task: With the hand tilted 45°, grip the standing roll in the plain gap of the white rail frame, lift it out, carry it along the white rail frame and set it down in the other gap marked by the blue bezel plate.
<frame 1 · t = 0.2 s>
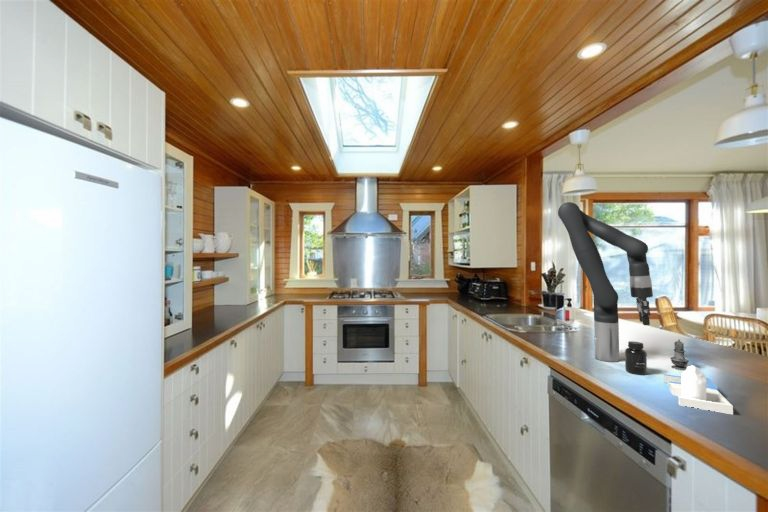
hand: (644, 323, 141), 18 cm above the counter, tool pointing down, fingers open, 8 cm apart
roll: (694, 403, 103), on the counter
white rail frame: (692, 395, 108), on the counter
supplement bottle: (636, 372, 130), on the counter
dark grey turned piece: (679, 368, 135), on the counter
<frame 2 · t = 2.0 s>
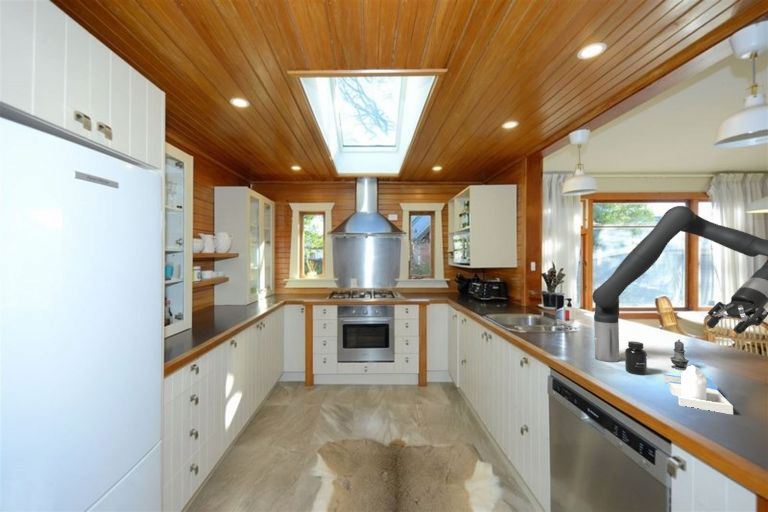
hand: (722, 329, 108), 22 cm above the counter, tool tilted 45°, fingers open, 8 cm apart
nothing on the counter moved.
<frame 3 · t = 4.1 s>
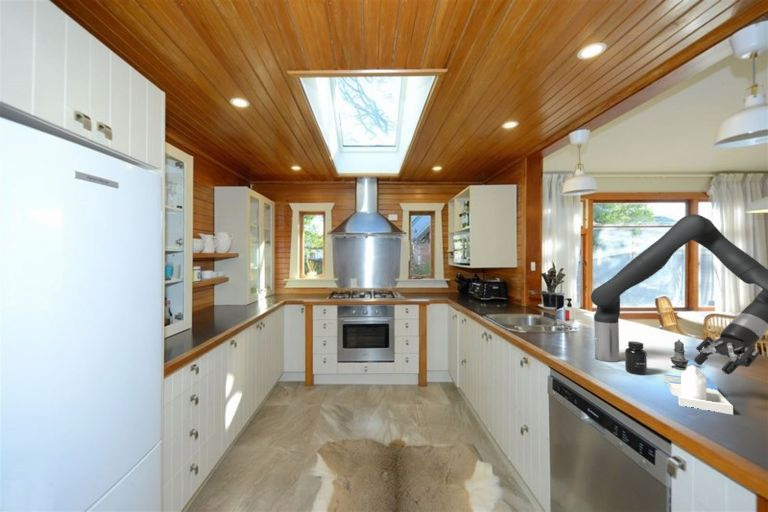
hand: (710, 367, 103), 11 cm above the counter, tool tilted 45°, fingers open, 8 cm apart
nothing on the counter moved.
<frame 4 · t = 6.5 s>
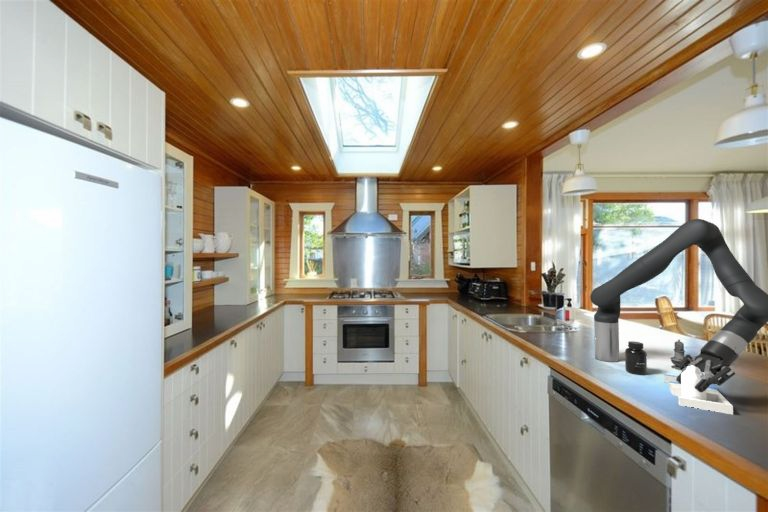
hand: (688, 386, 103), 5 cm above the counter, tool tilted 45°, fingers closed on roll, 5 cm apart
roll: (694, 403, 103), on the counter, touching gripper
everything else where it was.
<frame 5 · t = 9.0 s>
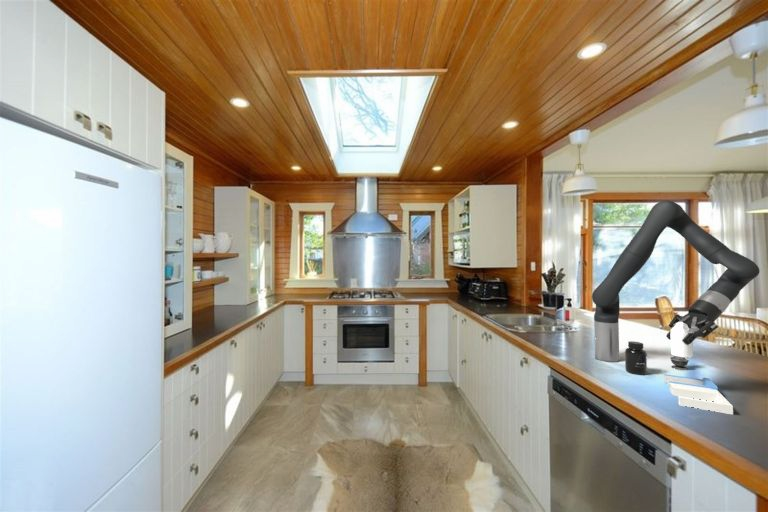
hand: (676, 340, 114), 17 cm above the counter, tool tilted 45°, fingers closed on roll, 5 cm apart
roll: (682, 356, 114), point 11 cm above the counter, touching gripper
everything else where it was.
when the fingers open (7 cm above the counter, at t = 11.6 s): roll drops 1 cm, on the counter.
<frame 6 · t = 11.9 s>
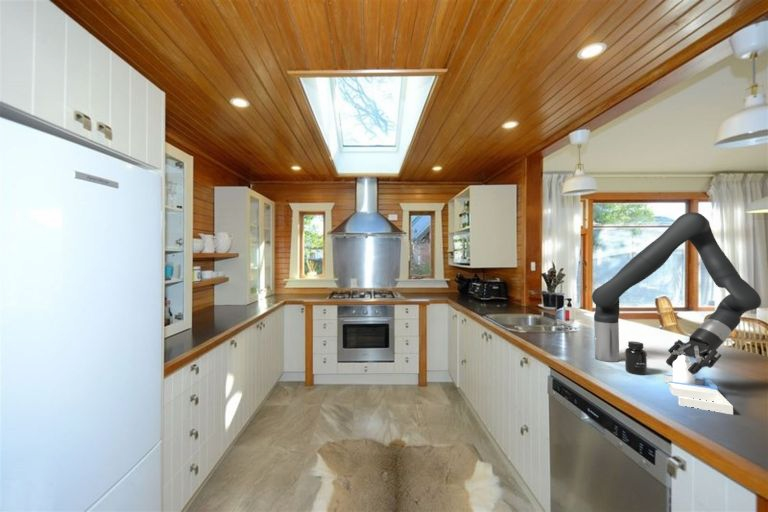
hand: (679, 368, 114), 7 cm above the counter, tool tilted 45°, fingers open, 8 cm apart
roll: (684, 389, 114), on the counter
everything else where it was.
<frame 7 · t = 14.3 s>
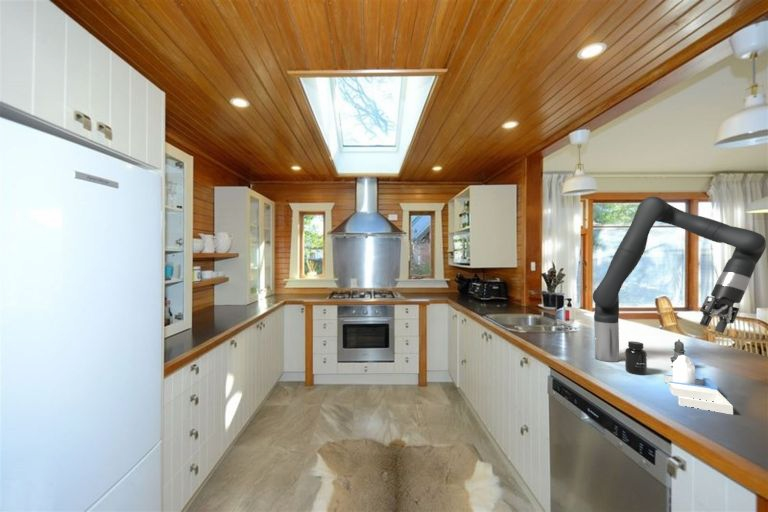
hand: (711, 328, 116), 20 cm above the counter, tool tilted 20°, fingers open, 8 cm apart
nothing on the counter moved.
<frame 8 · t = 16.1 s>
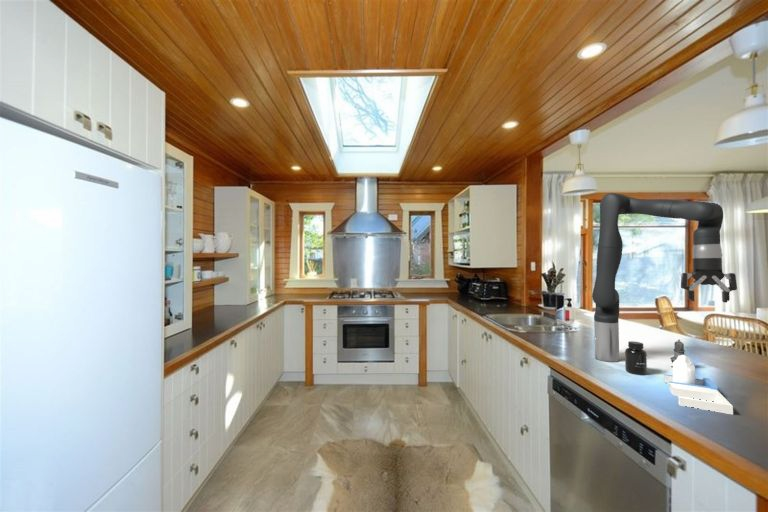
hand: (708, 301, 117), 30 cm above the counter, tool pointing down, fingers open, 8 cm apart
nothing on the counter moved.
at the end: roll inside the target area on the white rail frame (0.3 cm from its centre), point 0.0 cm above the white rail frame's base; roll tilted 0°; the gripper is holding nothing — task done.
